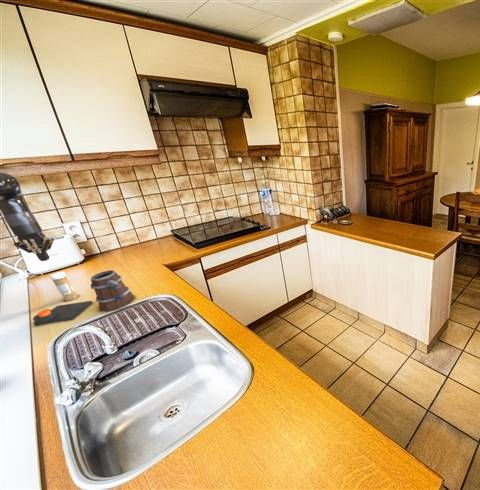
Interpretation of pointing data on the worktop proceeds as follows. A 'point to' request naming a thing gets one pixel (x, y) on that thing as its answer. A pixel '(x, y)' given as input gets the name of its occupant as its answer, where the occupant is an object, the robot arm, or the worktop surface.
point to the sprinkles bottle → (63, 286)
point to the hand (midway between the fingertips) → (45, 260)
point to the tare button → (44, 313)
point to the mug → (110, 290)
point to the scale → (62, 313)
